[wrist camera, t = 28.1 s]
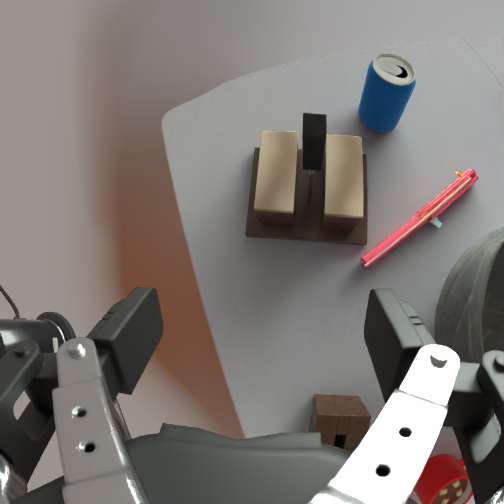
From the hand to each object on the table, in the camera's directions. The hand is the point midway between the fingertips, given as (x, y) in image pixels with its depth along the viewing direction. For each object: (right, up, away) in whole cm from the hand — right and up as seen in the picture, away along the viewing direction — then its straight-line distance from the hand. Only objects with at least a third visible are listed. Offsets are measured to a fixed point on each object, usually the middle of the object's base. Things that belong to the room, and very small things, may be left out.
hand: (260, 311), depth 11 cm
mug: (+30, -31, +21) cm, 48 cm away
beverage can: (+19, +23, +31) cm, 43 cm away
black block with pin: (+7, +10, +30) cm, 32 cm away
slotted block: (+7, +10, +31) cm, 33 cm away
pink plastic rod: (+24, +7, +28) cm, 37 cm away
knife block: (+10, -21, +25) cm, 34 cm away
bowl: (+32, -7, +24) cm, 41 cm away
